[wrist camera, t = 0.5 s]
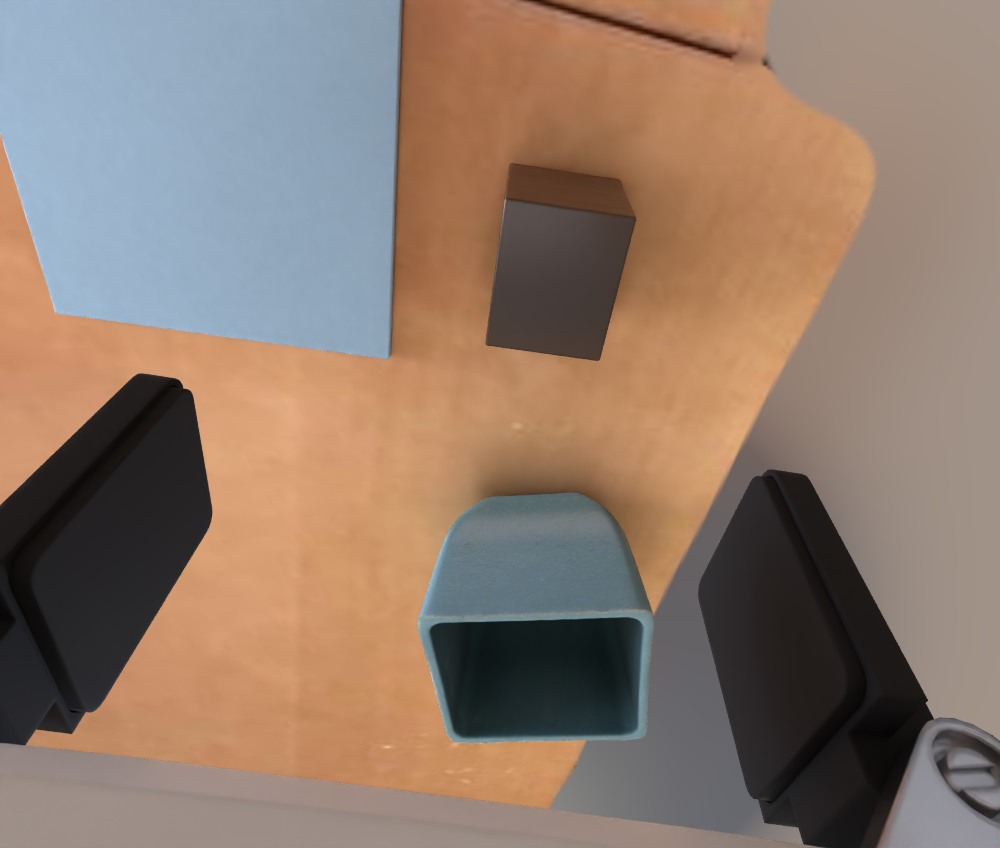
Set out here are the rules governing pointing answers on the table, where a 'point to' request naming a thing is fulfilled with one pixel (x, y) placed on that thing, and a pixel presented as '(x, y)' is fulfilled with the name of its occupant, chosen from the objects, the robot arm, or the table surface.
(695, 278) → the table surface
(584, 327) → the walnut block
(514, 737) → the flower pot
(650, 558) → the table surface
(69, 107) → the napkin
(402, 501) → the table surface
